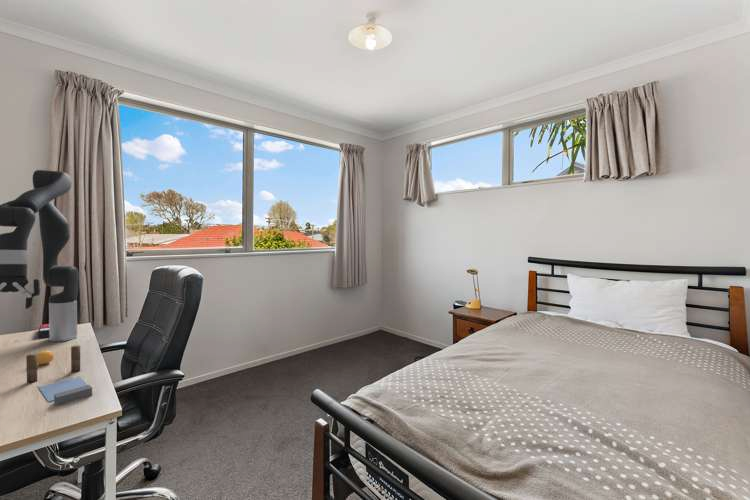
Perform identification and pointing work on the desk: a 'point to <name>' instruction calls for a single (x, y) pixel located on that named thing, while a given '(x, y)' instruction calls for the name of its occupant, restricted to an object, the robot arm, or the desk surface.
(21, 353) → the desk surface
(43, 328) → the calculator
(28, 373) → the post
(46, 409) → the desk surface
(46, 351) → the ball
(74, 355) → the post
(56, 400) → the stopper wall
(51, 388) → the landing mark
